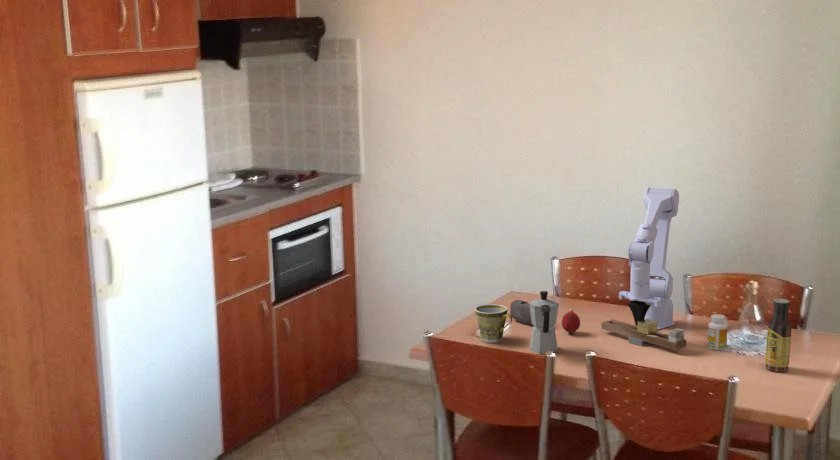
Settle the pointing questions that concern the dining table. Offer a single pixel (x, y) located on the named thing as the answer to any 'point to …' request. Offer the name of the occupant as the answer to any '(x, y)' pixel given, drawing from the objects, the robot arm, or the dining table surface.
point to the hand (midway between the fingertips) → (639, 325)
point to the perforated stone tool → (521, 312)
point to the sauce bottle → (779, 338)
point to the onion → (570, 322)
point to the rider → (647, 326)
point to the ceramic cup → (491, 322)
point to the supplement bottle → (717, 332)
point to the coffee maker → (543, 324)
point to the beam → (647, 335)
